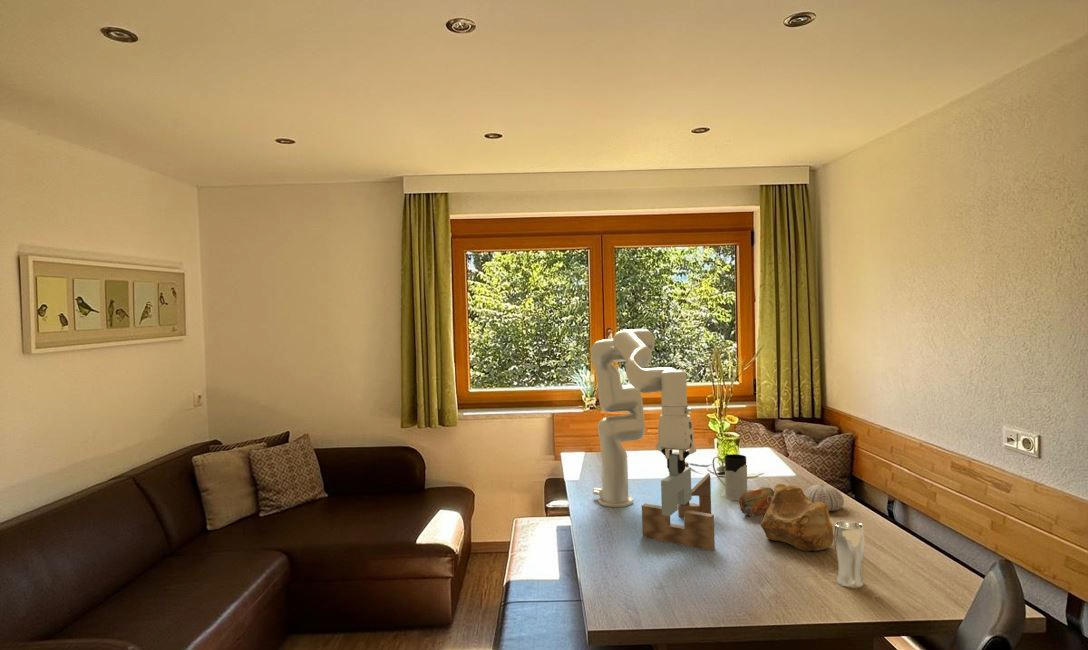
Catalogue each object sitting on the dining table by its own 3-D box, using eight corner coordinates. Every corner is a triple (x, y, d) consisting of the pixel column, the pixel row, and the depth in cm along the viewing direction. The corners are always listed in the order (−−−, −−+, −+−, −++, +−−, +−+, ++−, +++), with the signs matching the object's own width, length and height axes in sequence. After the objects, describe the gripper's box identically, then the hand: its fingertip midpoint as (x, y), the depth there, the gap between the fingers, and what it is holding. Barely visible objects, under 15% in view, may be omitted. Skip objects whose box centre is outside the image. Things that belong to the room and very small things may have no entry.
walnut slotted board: (642, 537, 196) (641, 505, 196) (645, 534, 198) (644, 503, 198) (712, 550, 184) (711, 516, 184) (714, 547, 186) (713, 514, 186)
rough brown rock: (746, 532, 200) (742, 486, 199) (794, 523, 203) (790, 478, 201) (787, 564, 177) (783, 512, 176) (840, 553, 180) (836, 502, 179)
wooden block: (711, 517, 213) (710, 464, 212) (679, 516, 214) (677, 464, 213) (710, 513, 216) (708, 461, 216) (678, 513, 218) (676, 461, 217)
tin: (744, 518, 210) (744, 493, 210) (737, 515, 213) (737, 491, 213) (777, 510, 217) (776, 486, 217) (770, 507, 220) (769, 484, 220)
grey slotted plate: (684, 498, 199) (682, 447, 198) (691, 499, 197) (690, 448, 197) (662, 514, 184) (660, 460, 183) (669, 516, 182) (668, 461, 182)
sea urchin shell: (800, 511, 216) (799, 488, 216) (804, 499, 228) (803, 477, 228) (843, 516, 210) (842, 492, 209) (844, 504, 222) (844, 481, 221)
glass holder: (740, 502, 227) (739, 460, 227) (706, 494, 238) (706, 454, 237) (753, 496, 233) (752, 456, 233) (720, 489, 244) (719, 450, 243)
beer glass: (829, 577, 164) (828, 520, 163) (855, 576, 164) (854, 519, 164) (844, 589, 157) (843, 530, 156) (871, 588, 157) (870, 528, 157)
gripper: (704, 410, 189) (706, 471, 189) (654, 407, 197) (656, 466, 198) (696, 414, 182) (697, 478, 183) (644, 411, 191) (646, 471, 191)
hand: (676, 471), depth 190 cm, fingers closed on grey slotted plate, 2 cm apart
